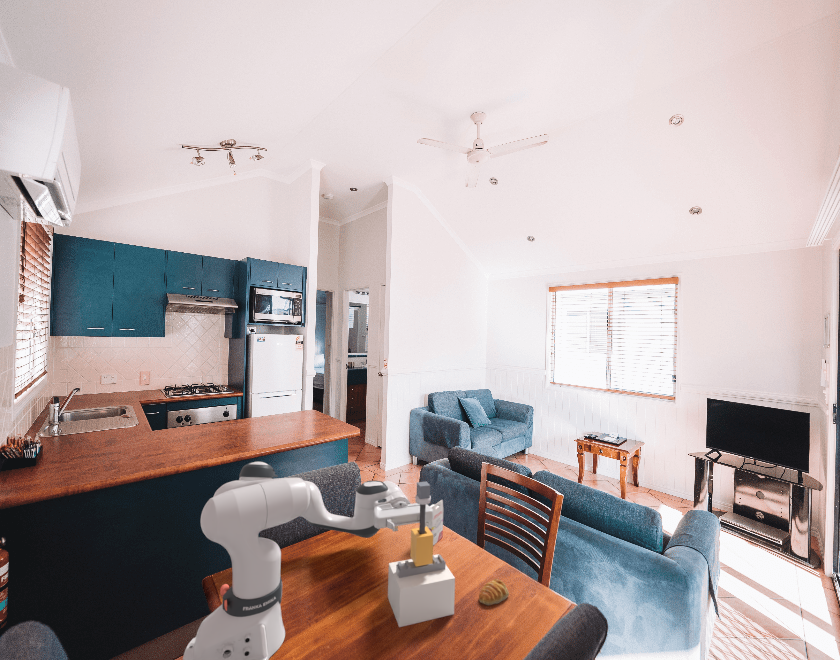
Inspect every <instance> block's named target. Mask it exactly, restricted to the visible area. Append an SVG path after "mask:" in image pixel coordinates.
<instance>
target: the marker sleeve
mask: <svg viewBox="0 0 840 660" xmlns="http://www.w3.org/2000/svg"><path fill="white" fill-rule="evenodd" d="M433 553H434V545H433V534H432V533H431V531H430V530H429V528H428V527H425V534H419V527H415V528H410V554H409V555H410V559H412V560H413V562H414V564H415V566H421V565H427V564H432V563H433V555H434V554H433Z"/></svg>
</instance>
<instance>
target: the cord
mask: <svg viewBox="0 0 840 660" xmlns="http://www.w3.org/2000/svg"><path fill="white" fill-rule="evenodd" d="M431 499H432V497H431V484H430V483H428V481H417V482H416V494H415V500H414V501H415V502H414V503H418V504H420V523H419V525H418V526H419V527H418V528H419V534H425V510H426V504H427V505H429V504H430V503H431Z"/></svg>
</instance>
